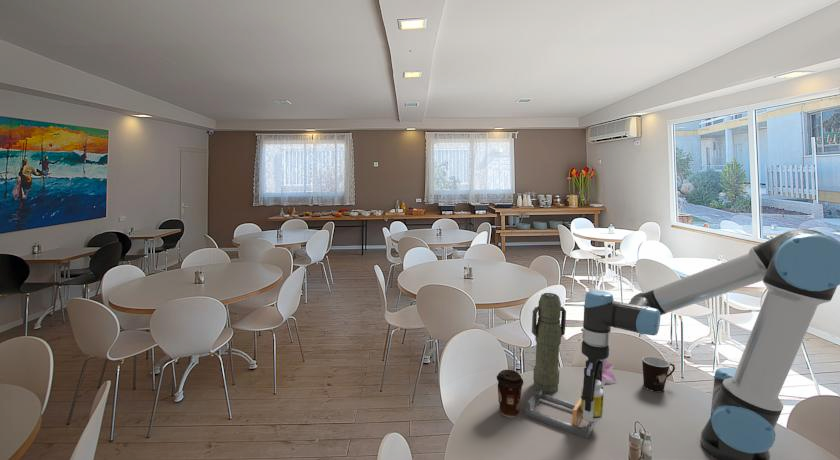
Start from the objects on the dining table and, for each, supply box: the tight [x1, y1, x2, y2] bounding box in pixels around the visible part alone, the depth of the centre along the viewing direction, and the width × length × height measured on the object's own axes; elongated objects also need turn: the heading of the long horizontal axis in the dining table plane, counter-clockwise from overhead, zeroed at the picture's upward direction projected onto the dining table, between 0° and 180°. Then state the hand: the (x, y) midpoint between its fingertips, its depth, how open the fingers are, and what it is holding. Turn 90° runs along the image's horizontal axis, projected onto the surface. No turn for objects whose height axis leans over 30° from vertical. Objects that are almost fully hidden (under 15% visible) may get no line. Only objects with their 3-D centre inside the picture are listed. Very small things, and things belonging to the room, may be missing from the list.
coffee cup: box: [496, 369, 524, 419], centre depth 127 cm, size 9×8×13 cm
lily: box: [601, 358, 618, 387], centre depth 149 cm, size 12×12×10 cm
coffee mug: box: [641, 355, 676, 392], centre depth 143 cm, size 12×9×10 cm
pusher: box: [539, 397, 583, 427], centre depth 125 cm, size 13×10×6 cm
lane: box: [525, 388, 598, 439], centre depth 125 cm, size 19×13×4 cm
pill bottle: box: [580, 379, 605, 421], centre depth 119 cm, size 6×6×11 cm
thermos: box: [531, 292, 567, 394], centre depth 141 cm, size 9×12×35 cm
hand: (590, 414), depth 119 cm, fingers closed on pill bottle, 6 cm apart
